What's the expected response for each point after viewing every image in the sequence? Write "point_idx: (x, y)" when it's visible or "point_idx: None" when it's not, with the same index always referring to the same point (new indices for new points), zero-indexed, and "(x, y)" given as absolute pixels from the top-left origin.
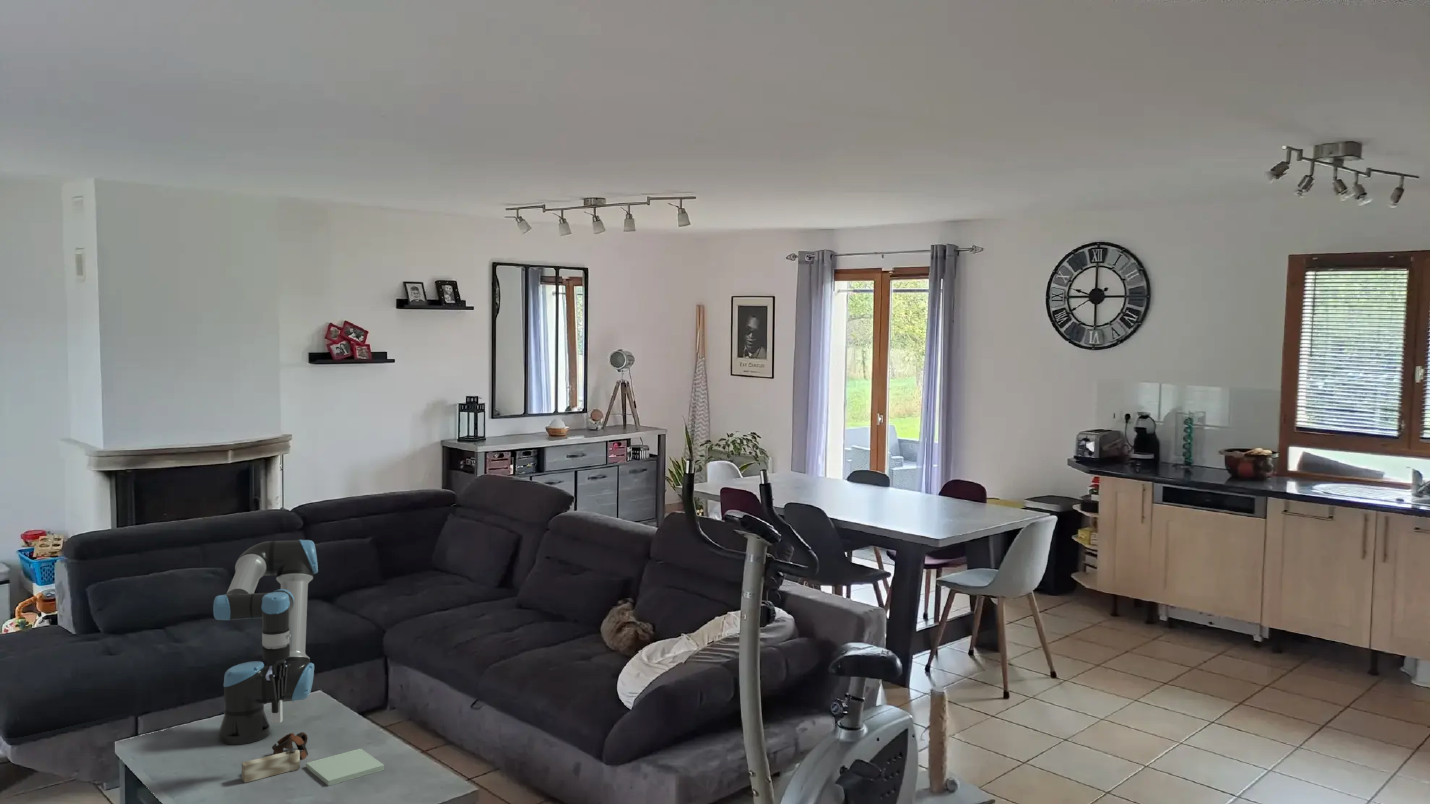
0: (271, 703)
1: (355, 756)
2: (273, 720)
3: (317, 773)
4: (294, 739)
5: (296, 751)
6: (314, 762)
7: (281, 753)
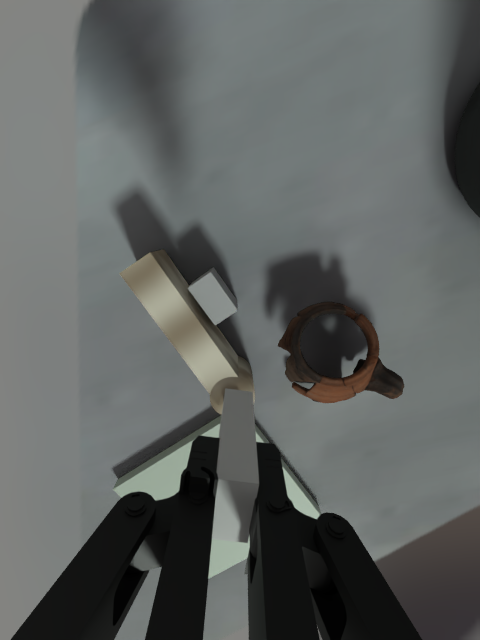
0: (217, 468)
1: None
2: (223, 404)
3: (172, 450)
4: (320, 388)
5: None
6: None
7: (225, 366)
